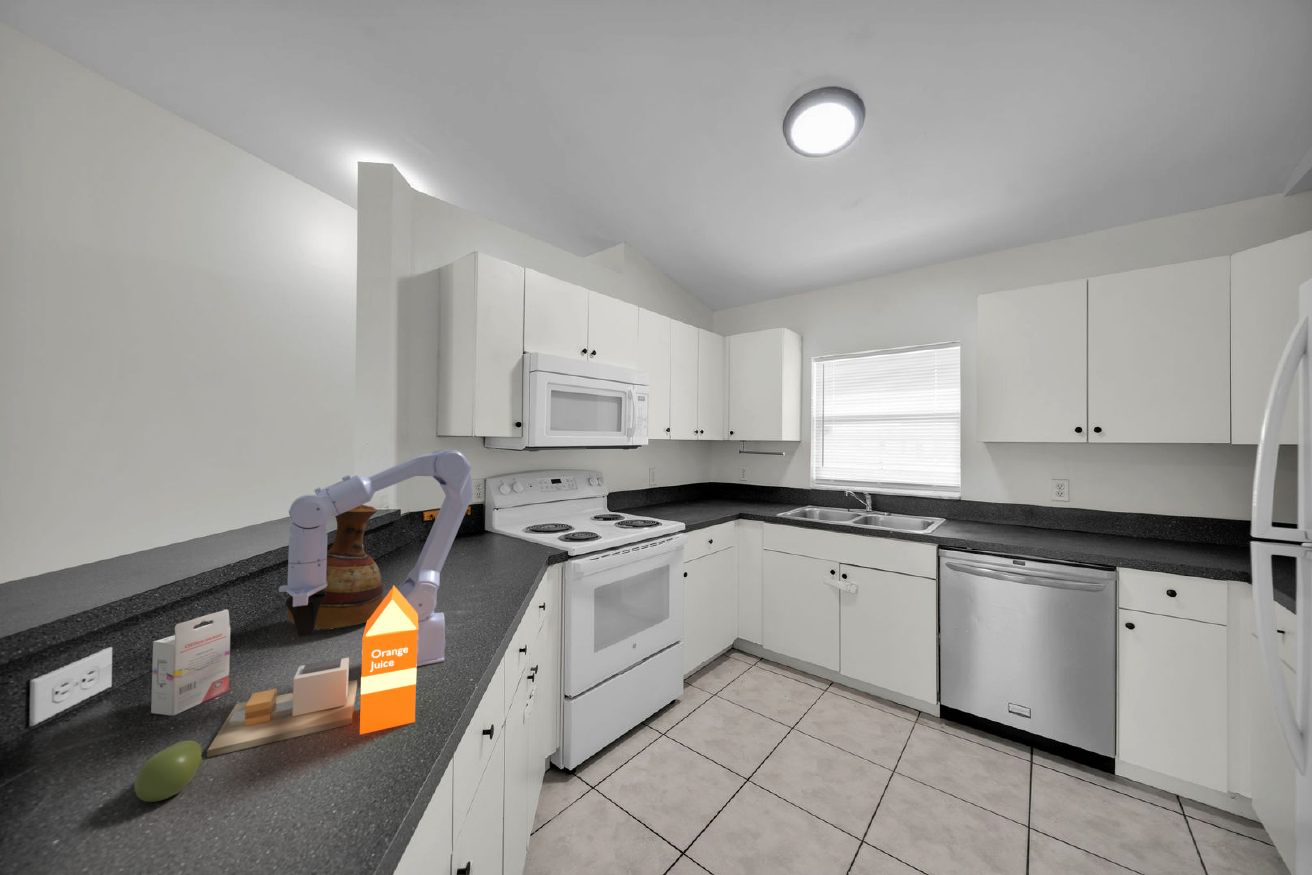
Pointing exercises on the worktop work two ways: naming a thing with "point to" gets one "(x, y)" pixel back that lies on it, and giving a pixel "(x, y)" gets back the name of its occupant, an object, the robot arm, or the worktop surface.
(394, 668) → the orange juice
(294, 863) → the worktop surface
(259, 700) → the block
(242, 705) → the mounting board
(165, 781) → the olive green oval piece
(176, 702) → the ink cartridge box
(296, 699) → the block
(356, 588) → the ceramic pitcher
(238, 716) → the steel rail
